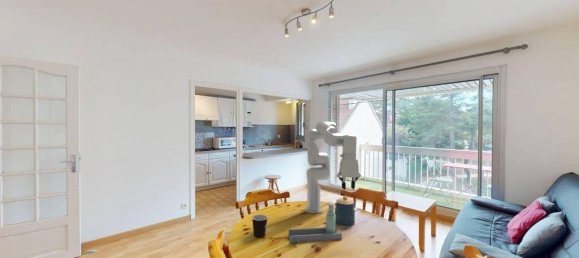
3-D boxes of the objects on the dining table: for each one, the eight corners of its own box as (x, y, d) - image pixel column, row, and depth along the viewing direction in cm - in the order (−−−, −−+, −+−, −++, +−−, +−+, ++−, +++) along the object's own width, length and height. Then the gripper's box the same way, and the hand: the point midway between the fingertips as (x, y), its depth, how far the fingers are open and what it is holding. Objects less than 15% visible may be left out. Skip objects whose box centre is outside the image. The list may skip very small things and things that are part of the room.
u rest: (288, 236, 133) (288, 229, 133) (335, 233, 138) (336, 226, 138) (291, 244, 124) (291, 236, 124) (341, 240, 129) (341, 233, 129)
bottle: (324, 233, 135) (325, 202, 134) (333, 233, 136) (333, 202, 135) (327, 238, 130) (328, 205, 129) (336, 237, 130) (337, 205, 130)
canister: (359, 224, 151) (360, 197, 151) (344, 229, 144) (344, 200, 144) (344, 217, 162) (345, 192, 162) (330, 221, 155) (330, 194, 155)
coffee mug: (260, 240, 128) (260, 221, 128) (248, 236, 132) (248, 218, 132) (273, 232, 138) (273, 215, 138) (261, 228, 142) (261, 212, 142)
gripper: (337, 157, 128) (336, 191, 129) (366, 157, 131) (365, 190, 132) (332, 155, 136) (331, 187, 136) (360, 155, 139) (359, 186, 139)
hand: (348, 188), depth 134 cm, fingers open, 4 cm apart
